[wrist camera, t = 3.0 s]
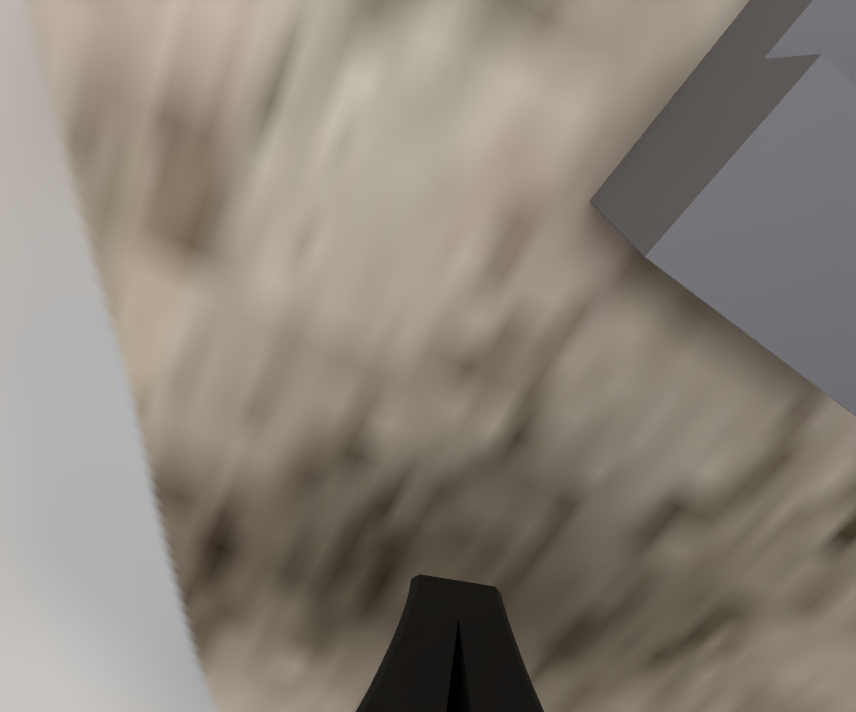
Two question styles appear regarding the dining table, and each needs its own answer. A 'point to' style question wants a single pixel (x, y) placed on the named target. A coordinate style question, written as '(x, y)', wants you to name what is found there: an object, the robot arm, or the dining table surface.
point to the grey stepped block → (760, 186)
